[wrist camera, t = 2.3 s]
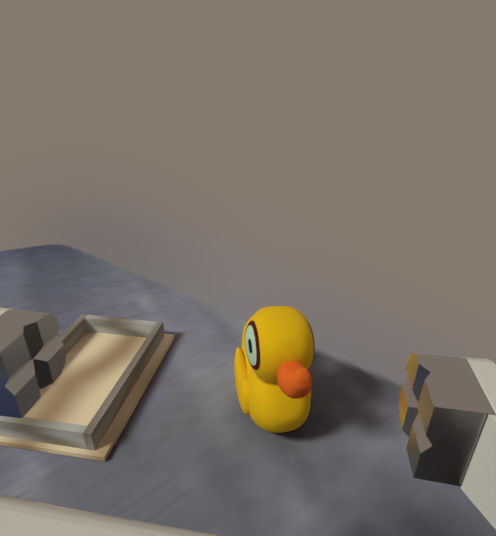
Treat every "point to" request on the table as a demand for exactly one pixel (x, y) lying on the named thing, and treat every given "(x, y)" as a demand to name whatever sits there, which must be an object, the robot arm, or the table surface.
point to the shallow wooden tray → (91, 388)
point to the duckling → (275, 368)
